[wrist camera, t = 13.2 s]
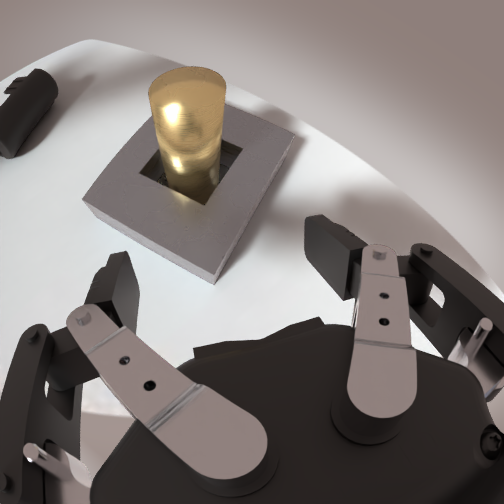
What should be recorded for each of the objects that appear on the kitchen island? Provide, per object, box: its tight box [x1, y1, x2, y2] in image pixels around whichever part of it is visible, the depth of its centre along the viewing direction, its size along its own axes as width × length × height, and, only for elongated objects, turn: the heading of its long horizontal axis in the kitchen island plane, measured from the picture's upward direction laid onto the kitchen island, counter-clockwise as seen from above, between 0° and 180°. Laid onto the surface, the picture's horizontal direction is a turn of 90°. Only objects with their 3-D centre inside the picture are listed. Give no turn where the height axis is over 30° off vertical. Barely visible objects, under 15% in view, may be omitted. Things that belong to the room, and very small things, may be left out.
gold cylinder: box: [148, 67, 226, 204], centre depth 18 cm, size 4×4×11 cm
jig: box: [82, 104, 295, 285], centre depth 22 cm, size 12×14×4 cm
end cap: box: [0, 69, 58, 159], centre depth 20 cm, size 10×7×7 cm
